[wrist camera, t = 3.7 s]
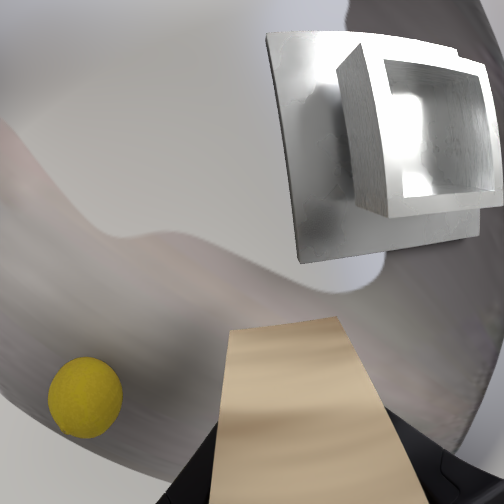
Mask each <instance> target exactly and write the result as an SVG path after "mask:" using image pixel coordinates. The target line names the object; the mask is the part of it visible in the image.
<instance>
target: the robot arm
mask: <svg viewBox="0 0 504 504" xmlns="http://www.w3.org/2000/svg"><path fill="white" fill-rule="evenodd" d="M384 408H385V410H386V412H387V414H388V416H389V418H390V420H391V422H392V424H393V426H394V428H395V430H396V432H397V434H398V436H399V438H400V441H401V443H402V445H403V447H404V449H405V451H406V453H407V456H408V458H409V460H410V462H411V464H412V466H413V469H414V471H415V473H416V475H417V478H418V480H419V482H420V484H421V487H422V489H423V491H424V494H425V496H426V498H427V501H428V503H429V504H504V479H502V478H499V477H497V476H494V475H492V474H490V473H487V472H485V471H483V470H481V469H479V468H476V467H474V466H472V465H470V464H468V463H466V462H465V461H463V460H461V459H459V458H458V457H456V456H455V455H453V454H451V453H450V452H448V451H447V450H445V449H443V448H442V447H441V446H439V445H438V444H436V443H435V442H434V441H432V440H431V439H429V438H428V437H426V436H425V435H423V434H422V433H421V432H419V431H418V430H416V429H415V428H414V427H412V426H411V425H409V424H408V423H407V422H405V421H404V420H402V419H401V418H400V417H398V416H397V415H395V414H394V413H393V412H391V411H390V410H389V409H387V408H386V407H385V406H384ZM218 421H219V420H218ZM217 429H218V422H217V423H216V424H215V426H214V427H213V429H212V430H211V432H210V433H209V434H208V436H207V437H206V439H205V440H204V441H203V443H202V444H201V446H200V447H199V448H198V450H197V451H196V452H195V454H194V455H193V457H192V458H191V459H190V461H189V462H188V463H187V465H186V466H185V467H184V469H183V470H182V471H181V472H180V474H179V475H178V476H177V478H176V479H175V480H174V482H173V483H172V484H171V486H170V487H169V488H168V490H167V491H166V493H164V494H163V495H162V497H161V498H160V499H159V500H158V502H157V503H156V504H209V499H210V490H211V481H212V472H213V463H214V455H215V446H216V438H217Z"/></svg>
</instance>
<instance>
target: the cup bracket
mask: <svg viewBox="0 0 504 504" xmlns="http://www.w3.org/2000/svg"><path fill="white" fill-rule="evenodd" d="M265 41H266V47H267V52H268V57H269V62H270V68H271V73H272V79H273V85H274V90H275V96H276V102H277V108H278V114H279V120H280V126H281V133H282V140H283V147H284V153H285V160H286V167H287V175H288V182H289V190H290V198H291V205H292V214H293V223H294V231H295V240H296V250H297V258H298V260H299V262H300V264H305V263H312V262H319V261H325V260H332V259H339V258H345V257H352V256H359V255H365V254H371V253H377V252H384V251H390V250H397V249H403V248H409V247H415V246H421V245H427V244H433V243H439V242H445V241H451V240H456V239H462V238H468V237H473V236H479V226H480V208H487V207H497V206H503V174H502V159H501V149H500V140H499V132H498V125H497V119H496V113H495V108H494V103H493V98H492V93H491V89H490V85H489V81H488V77H487V73H486V69H485V66H484V65H483V64H480V63H477V62H474V61H470V60H467V59H463V58H460V57H458V54H457V51H456V49H452V48H448V47H444V46H440V45H436V44H432V43H427V42H422V41H417V40H412V39H406V38H400V37H393V36H386V35H378V34H368V33H356V32H339V31H291V32H274V33H266V40H265Z"/></svg>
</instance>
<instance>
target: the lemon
mask: <svg viewBox="0 0 504 504" xmlns="http://www.w3.org/2000/svg"><path fill="white" fill-rule="evenodd" d="M122 400H123V392H122V386H121V383H120V381H119V378H118V376H117V375H116V373H115V372H114V370H113V369H112V368H111V367H110V366H108V365H107V364H106V363H104V362H103V361H101V360H98V359H96V358H91V357H80V358H76V359H74V360H72V361H70V362H68V363H66V364H65V365H64V366H63V367H62V368H61V369H60V370H59V371H58V373H57V374H56V376H55V377H54V379H53V381H52V383H51V385H50V389H49V393H48V406H49V410H50V413H51V415H52V417H53V419H54V421H55V422H56V423H57V425H58V426H59V427H60V430H61V431H62V432H63V433H64V434H67V435H72V436H74V437H78V438H94V437H96V436H99V435H101V434H103V433H104V432H105V431H106V430H107V429H108V428H109V427H110V426H111V425H112V424H113V422H114V421H115V420H116V418H117V416H118V414H119V412H120V409H121V405H122Z"/></svg>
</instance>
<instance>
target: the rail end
mask: <svg viewBox="0 0 504 504" xmlns="http://www.w3.org/2000/svg"><path fill="white" fill-rule="evenodd" d="M209 504H429V503H428V501H427V498H426V496H425V494H424V491H423V489H422V487H421V484H420V482H419V480H418V478H417V475H416V473H415V471H414V469H413V466H412V464H411V462H410V460H409V458H408V456H407V453H406V451H405V449H404V447H403V445H402V443H401V441H400V438H399V436H398V434H397V432H396V430H395V428H394V426H393V424H392V422H391V420H390V418H389V416H388V414H387V412H386V410H385V408H384V406H383V404H382V402H381V400H380V398H379V396H378V394H377V392H376V390H375V388H374V386H373V384H372V382H371V380H370V378H369V376H368V374H367V372H366V370H365V368H364V366H363V365H362V363H361V361H360V359H359V357H358V355H357V353H356V351H355V349H354V348H353V346H352V344H351V342H350V340H349V338H348V336H347V335H346V333H345V331H344V329H343V327H342V325H341V324H340V322H339V320H338V318H337V316H335V317H329V318H323V319H317V320H310V321H304V322H297V323H290V324H282V325H275V326H267V327H258V328H249V329H240V330H230V333H229V341H228V348H227V356H226V364H225V372H224V380H223V388H222V396H221V404H220V412H219V421H218V429H217V438H216V446H215V455H214V463H213V472H212V481H211V490H210V499H209Z"/></svg>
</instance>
